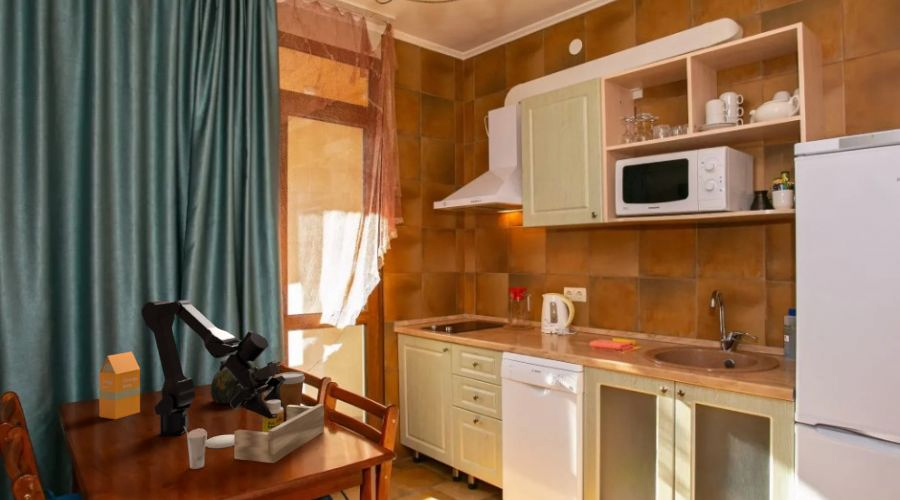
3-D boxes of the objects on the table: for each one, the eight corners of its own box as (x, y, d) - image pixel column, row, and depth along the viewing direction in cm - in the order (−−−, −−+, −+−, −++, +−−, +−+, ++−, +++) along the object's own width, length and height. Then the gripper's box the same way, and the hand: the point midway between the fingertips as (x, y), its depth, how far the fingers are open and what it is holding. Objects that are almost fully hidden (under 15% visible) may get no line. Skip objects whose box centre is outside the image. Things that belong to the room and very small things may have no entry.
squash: (195, 388, 193) (218, 358, 190) (227, 380, 207) (249, 352, 204) (217, 418, 189) (241, 388, 185) (249, 409, 202) (271, 380, 199)
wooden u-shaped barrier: (234, 458, 141) (234, 427, 141) (289, 427, 166) (289, 401, 166) (273, 463, 138) (273, 431, 138) (323, 431, 163) (323, 404, 163)
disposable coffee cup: (310, 407, 188) (310, 372, 188) (295, 415, 179) (295, 378, 179) (285, 405, 190) (285, 371, 190) (269, 413, 181) (269, 377, 181)
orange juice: (98, 416, 178) (98, 355, 178) (124, 409, 186) (124, 350, 186) (115, 419, 175) (115, 356, 175) (140, 411, 183) (140, 352, 183)
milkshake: (187, 463, 138) (187, 423, 138) (209, 462, 139) (209, 423, 139) (180, 470, 134) (180, 429, 134) (203, 469, 134) (203, 428, 134)
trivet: (199, 449, 148) (199, 447, 148) (210, 436, 158) (210, 435, 158) (238, 447, 150) (238, 445, 150) (246, 435, 159) (246, 433, 159)
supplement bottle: (265, 442, 149) (265, 405, 149) (260, 436, 154) (260, 400, 154) (285, 439, 152) (286, 402, 152) (280, 433, 157) (280, 397, 157)
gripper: (240, 359, 145) (276, 404, 142) (280, 347, 163) (313, 387, 160) (214, 386, 147) (249, 432, 144) (257, 372, 165) (289, 412, 162)
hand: (277, 414), depth 152 cm, fingers closed on supplement bottle, 5 cm apart
